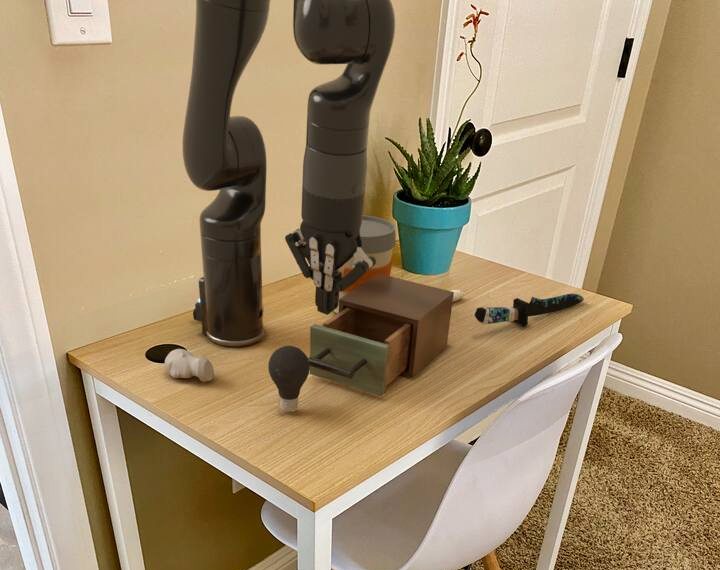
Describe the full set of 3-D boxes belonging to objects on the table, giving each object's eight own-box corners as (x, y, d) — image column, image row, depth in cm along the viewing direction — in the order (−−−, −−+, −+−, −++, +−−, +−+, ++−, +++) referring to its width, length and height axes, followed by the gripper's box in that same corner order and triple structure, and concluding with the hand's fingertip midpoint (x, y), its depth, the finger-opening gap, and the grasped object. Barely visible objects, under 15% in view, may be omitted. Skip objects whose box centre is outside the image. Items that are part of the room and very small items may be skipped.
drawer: (364, 412, 105) (368, 362, 101) (290, 388, 110) (290, 339, 105) (417, 364, 118) (423, 318, 114) (349, 344, 123) (351, 299, 118)
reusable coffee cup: (392, 298, 142) (399, 217, 133) (387, 325, 132) (394, 240, 123) (327, 292, 143) (329, 211, 134) (317, 318, 133) (318, 233, 124)
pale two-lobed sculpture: (161, 380, 114) (184, 360, 116) (199, 396, 110) (221, 375, 113) (151, 358, 111) (175, 338, 113) (189, 374, 107) (213, 353, 109)
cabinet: (412, 378, 116) (418, 320, 111) (336, 355, 121) (338, 299, 116) (446, 346, 126) (454, 291, 121) (375, 326, 131) (379, 273, 126)
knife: (475, 334, 128) (481, 309, 125) (463, 327, 130) (469, 302, 127) (589, 317, 145) (597, 295, 142) (577, 312, 147) (585, 289, 144)
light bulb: (271, 400, 108) (271, 337, 103) (310, 403, 108) (311, 339, 103) (266, 420, 104) (265, 355, 98) (306, 423, 104) (308, 358, 98)
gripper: (397, 189, 89) (382, 316, 101) (307, 158, 94) (302, 283, 106) (364, 209, 84) (351, 340, 96) (270, 176, 89) (269, 305, 101)
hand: (326, 310), depth 101 cm, fingers closed
